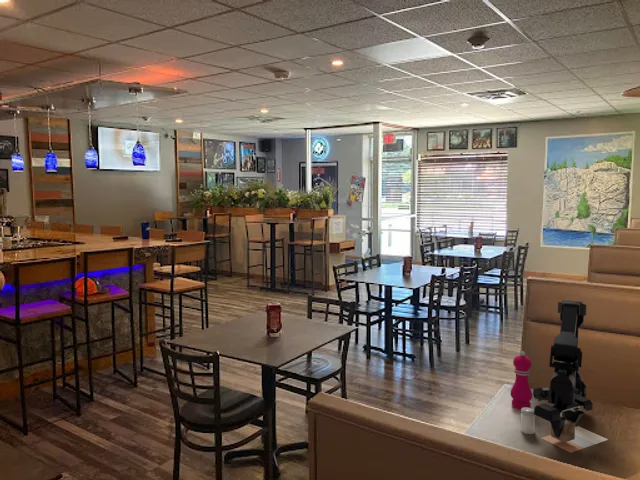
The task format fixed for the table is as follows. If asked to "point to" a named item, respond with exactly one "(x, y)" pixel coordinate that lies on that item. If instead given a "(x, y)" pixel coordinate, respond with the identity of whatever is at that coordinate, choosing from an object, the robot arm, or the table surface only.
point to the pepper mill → (521, 382)
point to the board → (577, 440)
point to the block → (566, 431)
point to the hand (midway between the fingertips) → (562, 435)
